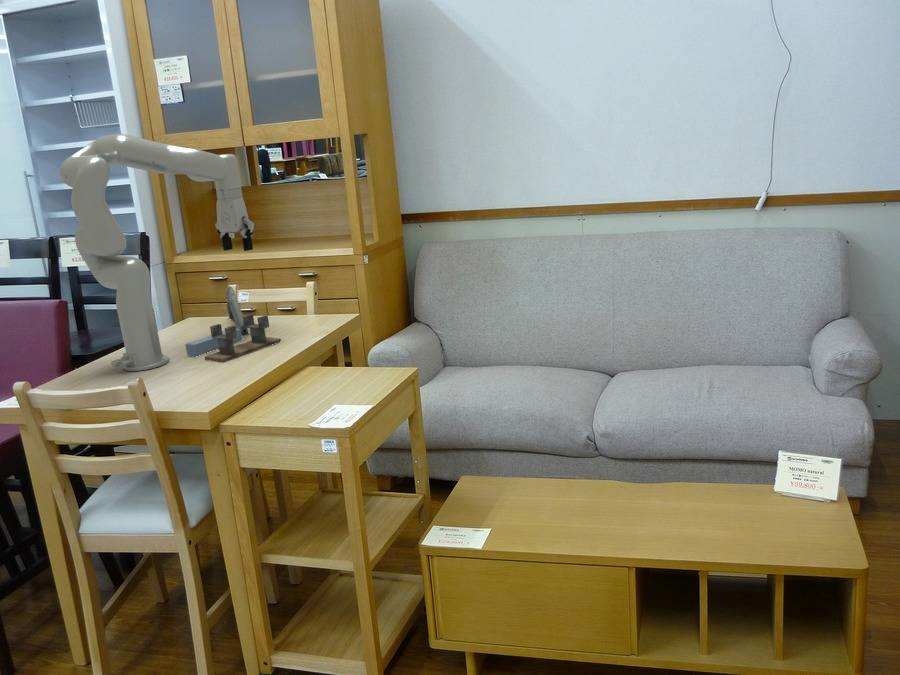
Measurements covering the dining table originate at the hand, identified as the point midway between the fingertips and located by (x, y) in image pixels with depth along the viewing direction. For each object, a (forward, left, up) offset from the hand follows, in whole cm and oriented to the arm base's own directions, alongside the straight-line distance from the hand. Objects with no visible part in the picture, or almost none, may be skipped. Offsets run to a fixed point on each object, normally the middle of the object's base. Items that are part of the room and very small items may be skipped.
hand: (238, 250), depth 255 cm
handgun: (+4, +12, -27) cm, 30 cm away
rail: (-18, -4, -27) cm, 33 cm away
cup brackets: (-17, -16, -27) cm, 35 cm away
